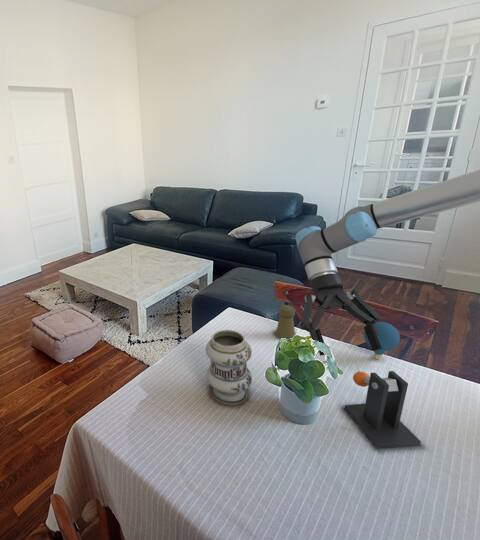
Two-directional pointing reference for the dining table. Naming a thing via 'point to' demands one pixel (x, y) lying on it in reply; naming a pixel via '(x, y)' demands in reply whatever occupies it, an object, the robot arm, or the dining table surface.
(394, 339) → the light bulb
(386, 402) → the switch bracket
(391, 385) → the switch lever
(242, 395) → the apothecary jar
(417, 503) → the dining table surface
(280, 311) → the cork
